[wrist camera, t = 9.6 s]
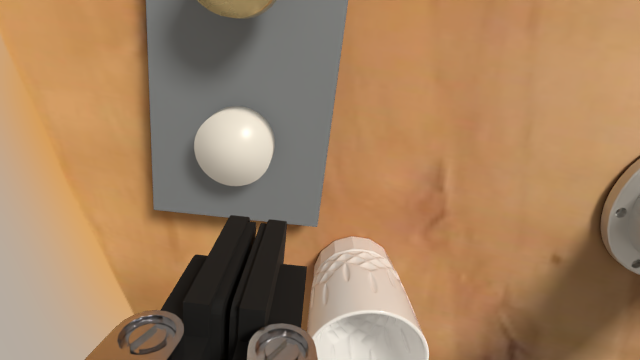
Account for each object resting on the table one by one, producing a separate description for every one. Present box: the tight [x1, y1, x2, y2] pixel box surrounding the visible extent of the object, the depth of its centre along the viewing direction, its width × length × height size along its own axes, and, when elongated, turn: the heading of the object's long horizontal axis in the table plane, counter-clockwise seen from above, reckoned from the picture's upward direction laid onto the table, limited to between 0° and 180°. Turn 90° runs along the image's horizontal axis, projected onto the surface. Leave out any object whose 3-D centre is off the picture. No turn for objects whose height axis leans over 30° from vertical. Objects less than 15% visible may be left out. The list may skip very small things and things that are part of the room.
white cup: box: [307, 236, 429, 360], centre depth 29 cm, size 8×8×10 cm
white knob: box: [194, 106, 275, 186], centre depth 26 cm, size 5×5×5 cm
